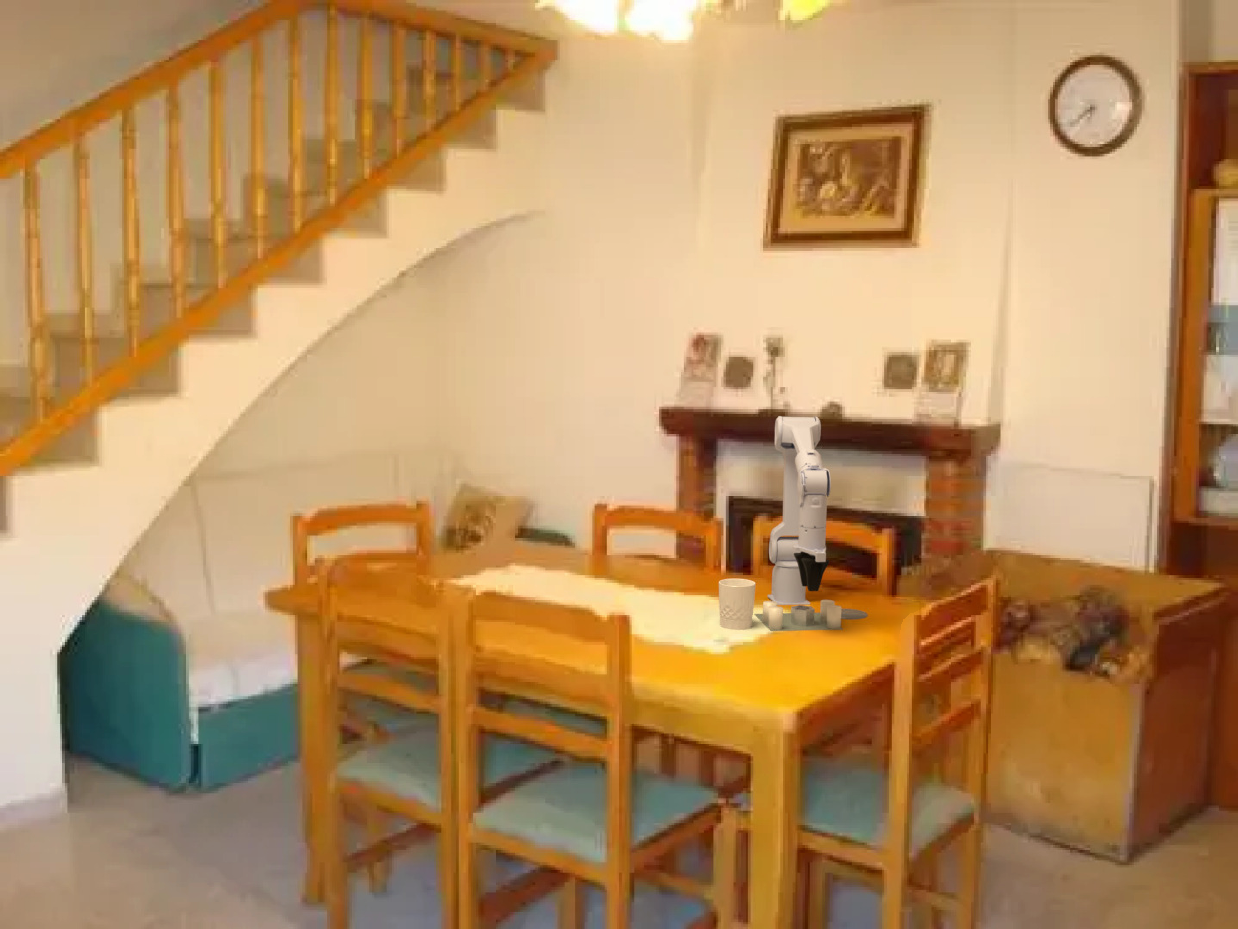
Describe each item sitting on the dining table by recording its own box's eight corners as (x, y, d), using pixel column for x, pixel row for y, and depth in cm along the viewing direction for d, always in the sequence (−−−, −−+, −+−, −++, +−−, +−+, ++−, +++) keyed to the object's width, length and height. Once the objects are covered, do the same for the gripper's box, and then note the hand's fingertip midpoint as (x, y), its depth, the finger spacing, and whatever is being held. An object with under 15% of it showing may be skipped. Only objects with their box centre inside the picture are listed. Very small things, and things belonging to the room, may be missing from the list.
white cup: (724, 633, 301) (726, 587, 299) (712, 624, 308) (713, 579, 307) (759, 631, 303) (760, 585, 301) (746, 622, 310) (747, 577, 309)
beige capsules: (761, 621, 310) (761, 601, 309) (831, 619, 312) (832, 599, 312) (770, 630, 302) (770, 609, 301) (842, 628, 304) (843, 608, 304)
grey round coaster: (821, 611, 321) (822, 609, 321) (860, 610, 323) (860, 608, 322) (833, 621, 312) (833, 618, 312) (872, 620, 314) (872, 617, 314)
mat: (753, 615, 316) (754, 613, 316) (822, 614, 319) (823, 612, 319) (770, 632, 302) (770, 630, 302) (843, 631, 304) (843, 629, 304)
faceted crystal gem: (789, 621, 310) (789, 605, 310) (809, 620, 311) (809, 605, 311) (795, 626, 305) (796, 611, 305) (815, 626, 306) (816, 610, 306)
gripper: (785, 520, 307) (783, 581, 309) (803, 532, 293) (801, 596, 294) (816, 519, 308) (814, 580, 310) (836, 532, 294) (834, 596, 295)
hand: (810, 588), depth 302 cm, fingers open, 4 cm apart
